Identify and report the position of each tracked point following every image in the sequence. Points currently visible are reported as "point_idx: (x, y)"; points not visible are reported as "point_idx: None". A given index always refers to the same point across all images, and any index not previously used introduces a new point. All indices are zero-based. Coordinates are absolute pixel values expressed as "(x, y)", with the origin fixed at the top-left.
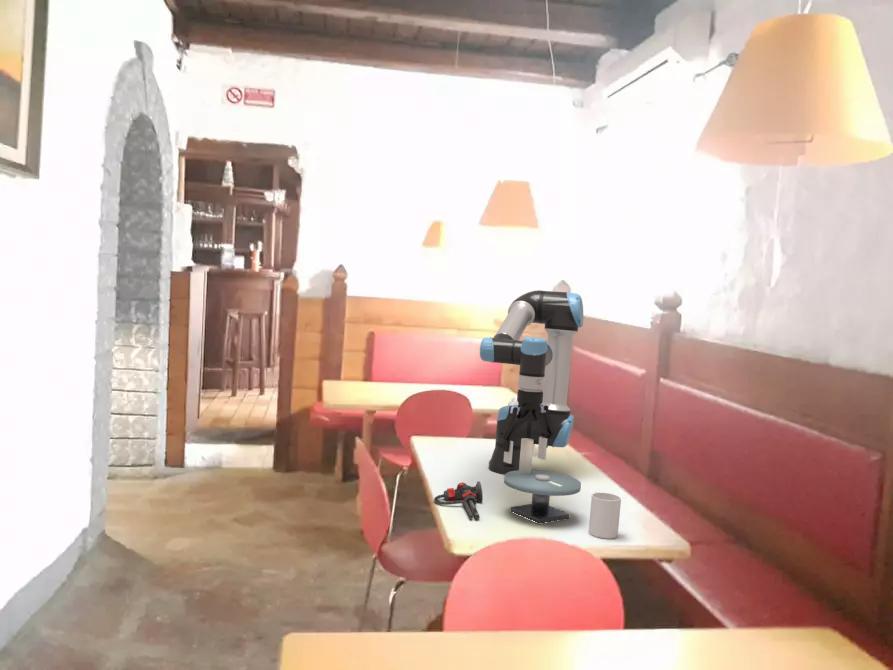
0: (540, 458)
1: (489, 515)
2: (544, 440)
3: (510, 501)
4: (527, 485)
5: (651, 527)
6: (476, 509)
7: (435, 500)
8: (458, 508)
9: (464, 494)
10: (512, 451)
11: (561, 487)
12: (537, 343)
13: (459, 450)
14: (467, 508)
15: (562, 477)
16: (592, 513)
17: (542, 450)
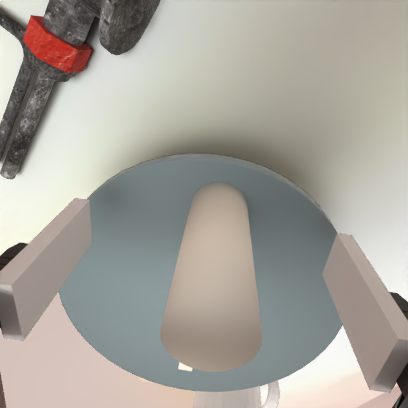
0: (329, 255)
1: (75, 156)
2: (366, 367)
3: (246, 85)
4: (85, 316)
5: (359, 385)
6: (24, 142)
7: None
8: (17, 50)
9: (31, 26)
10: (61, 286)
11: (179, 372)
12: None
13: None
14: (4, 116)
15: (298, 319)
16: (195, 393)
17: (342, 298)
